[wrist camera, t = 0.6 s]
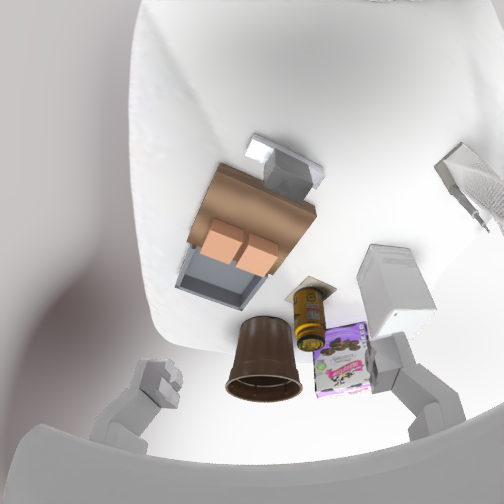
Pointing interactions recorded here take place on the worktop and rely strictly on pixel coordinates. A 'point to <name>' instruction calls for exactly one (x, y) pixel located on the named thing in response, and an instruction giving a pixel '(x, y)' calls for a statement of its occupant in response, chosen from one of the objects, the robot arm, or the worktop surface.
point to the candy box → (342, 362)
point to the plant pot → (264, 362)
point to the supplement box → (394, 292)
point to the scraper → (285, 169)
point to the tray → (217, 280)
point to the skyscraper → (473, 183)
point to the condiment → (310, 313)
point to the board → (252, 212)
